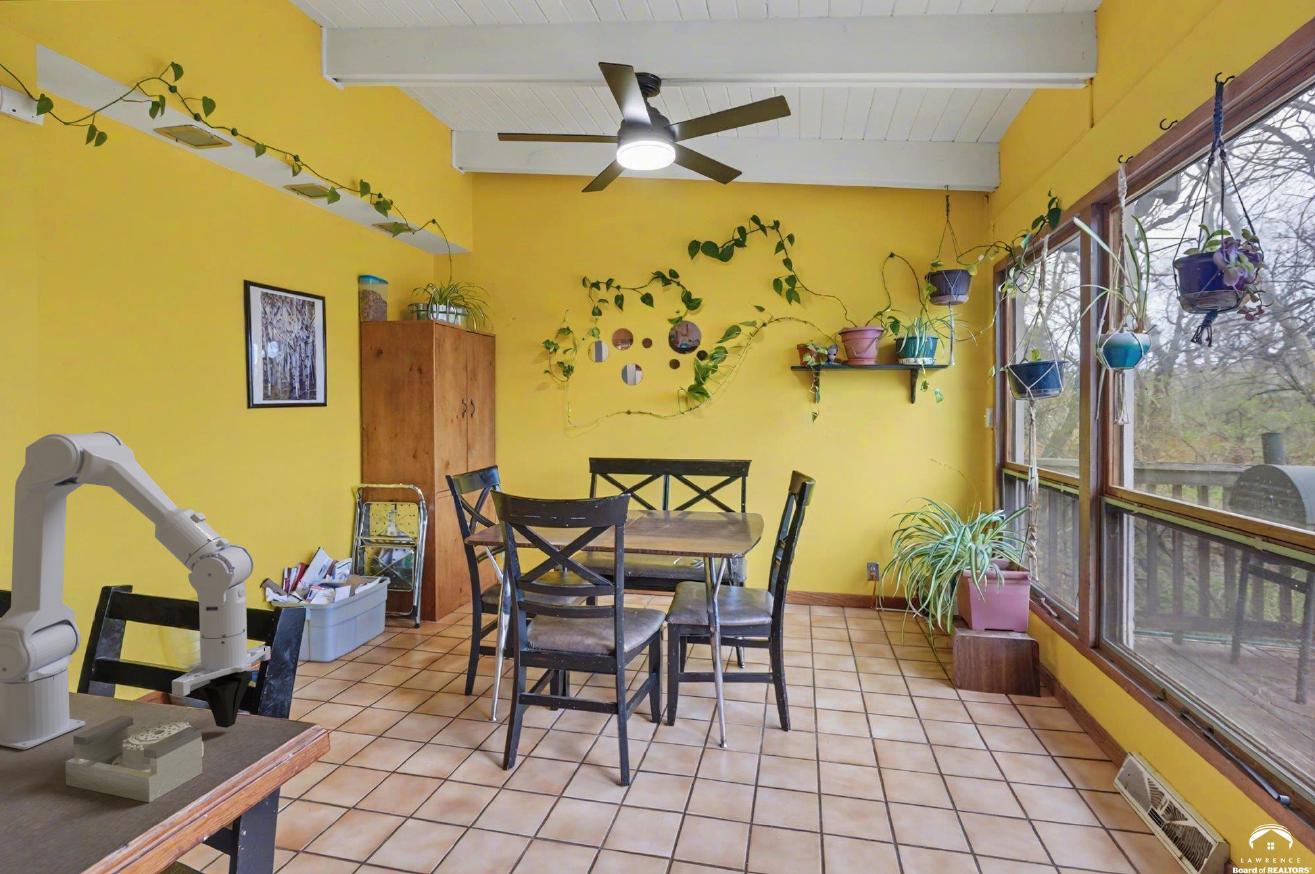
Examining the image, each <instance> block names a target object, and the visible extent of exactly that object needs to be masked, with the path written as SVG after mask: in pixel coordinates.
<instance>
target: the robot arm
mask: <svg viewBox="0 0 1315 874" xmlns="http://www.w3.org/2000/svg"><path fill="white" fill-rule="evenodd" d="M24 454H25V455H24V456H25V459H24V462H25V463H24V466H22V469H21V471H20V473H19V475H18V476H17V478H16V480H15V485H14V507H13V508H14V509H13V511H14V512H13V532H12V533H13V534H12V535H13V537H12V540H13V541H12V543H13V544H12V563H11V564H12V566H11V568H12V569H11V570H12V571H11V593H10V595H11V597H10V608H9V609H8V610H7V611H6V612H5V613H4V614H3V615H2V617H0V746H3V747H9V748H15V749H20V750H28V749H30V748H33V747H35V746H37V745H40V744H43V743H45V742H47V741H50V740H52V739H55V738H57V737H60V736H61V735H64V734H66V733H67V734H68V733H69V732H71V731H74V730H77V729H79V728H81V727H84V726H85V725H86V721H85V720H79V719H73V718H70V695H69V694H70V691H69V690H70V689H69V688H70V687H69V686H70V685H69V665H70V664H71V663H72V655H73V654H75V653H76V652H77V651H78V649H79V648H80V644H81V640H82V637H81V632H80V629H79V627H78V625H77V622H76V610H74V609H73V608H71V607H70V606H69V605H67V604H66V603H65V602H64V601H63V600H64V598H63V597H64V575H65V571H64V570H65V552H66V551H65V549H66V547H65V545H66V523H67V522H66V521H67V519H66V517H67V497H68V496H69V495H70V494H71V493H73V492H74V491H75V490H77V489H79V488H80V487H81V486H83V485H84V484H87V485H94V486H102V487H109V488H111V489H112V490H114V491H115V492H116V493H117V494H118V495H120V496H121V498H123V499H124V500H126V501H127V503H129V504H130V505H132V506H133V507H134V508H135V509H136V510H137V511H139V512H140V513H141V514H142V515H143V516H145V517H146V518H147V519H148V520H150V522H152V523H153V524H154V526H155V527H154V528H155V529H154V538H155V539H156V540H158V542H159V543H160V544H161V545H163V547H165V548H166V549H167V550H168V552H170V553H171V554H172V555H173V556H174V557H175V558H176V559H177V560H178V561H179V562H180V563H181V564H182V565H183V566H184V567H186V569H187V570H189V571H190V572H189V573H188V574H187V576H188V581H189V583H190V586H191V587H192V589H194V590H195V592H196V594H197V602H198V603H199V604H198V605H199V647H200V649H199V650H200V664H198V665H197V666H195V667H194V668H192V669H190V670H189V671H188V672H186V673H184V674H182V675H181V676H180V677H177V678H176V679H173V680H171V695H174V696H180V697H185V696H188V695H189V694H190V693H191V692H192V691H194V690H196V689H197V690H198V691H199V692H200V693H201V695H202V696H203V698H204V699H205V700H206V702H207V704H208V706H209V708H210V711H211V714H212V717H213V719H214V723H215V725H216V727H220V728H225V729H227V728H230V727H232V726H234V725H235V724H236V721H237V717H238V714H239V709H240V706H241V702H242V699H243V697H244V695H245V693H246V690H247V688H248V686H249V685H250V683H251V681H252V680H253V672H252V671H249V669H251V668H252V665H255V664H258V662H259V663H260V662H265V661H268V660H270V659H271V646H268V645H262V644H261V645H257V646H254V647H252V648H248V633H247V632H248V631H247V630H248V628H247V627H248V625H247V623H248V619H247V583H246V580H247V579H248V578H249V577H250V576H251V575H252V573H253V570H254V560H253V557H252V555H251V554H250V553H249V551H248V549H247V548H246V547H245V546H243V545H239V544H232V543H230V541H229V540H228V539H227V538H225V537H222V536H221V535H220V534H219V533H218V532H217V531H216V530H214V529H213V528H212V526H210V525H209V524H208V522H206V521H205V520H207V517H206V515H204V513H203V512H200V511H199V512H196V511H195V510H194V509H191V508H185V509H184V508H179V507H178V506H177V505H176V503H174V502H173V501H172V500H171V499H170V497H169V496H168V495H167V494H166V493H165V492H164V491H163V490H162V488H161V487H159V485H158V484H157V483H156V482H155V481H154V480H153V478H152V477H151V476H150V475H149V474H148V473H147V472H146V471H145V470H144V468H142V466H141V465H140V464H139V463H138V462H137V460H136V457H135V454H134V451H133V449H132V448H130V447H129V446H128V445H126V444H125V443H124V442H123V441H122V439H121V438H120V437H118V436H117V435H116V434H115V433H113V432H109V431H104V430H103V431H102V430H100V431H95V432H87V433H86V432H84V433H83V432H82V433H65V434H62V433H50V434H47V435H44V436H42V437H41V438H39V439H37V440H36V441H34V442H33V443H31V444H29V445H28V446H26V447H25V453H24ZM264 648H265V651H264Z"/></svg>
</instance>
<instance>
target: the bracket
mask: <svg viewBox="0 0 1315 874" xmlns="http://www.w3.org/2000/svg"><path fill="white" fill-rule="evenodd" d="M131 726H134V717H133V716H130V715H129V716H128V715H119V716H116V717H114V718H112V719H110V720H107V721H104V722H103V723H100V724H98V725H96V726H93V727H91V728H88V729H86V730H84V731H82V732H79V733H76V734H74V735H72V736H73V739H72V740H73V757H72V758H70V759H68V760H66V761H65V762H64V763H65V764H64V765H65V786H69V787H74V788H78V789H83V790H88V791H92V792H97V793H103V794H105V795H106V794H107V795H113V796H115V797H116V796H117V797H121V798H126V799H130V800H135V801H140V802H145V803H151V802H153V801H155V800H157V799H159V798H160V797H162V796H164V795H166V794H167V793H169V792H171V791H172V790H174V789H176V788H178V787H180V786H182V785H184V784H185V783H187V782H189V781H190V780H192V779H194V778H196V777H197V776H199V775H201V774H203V757H202V742H203V740H202V728H199V727H193V726H192V727H187V728H185V729H183V730H181V731H179V732H177V733H175V734H173V735H171V736H169V737H167V738H165V739H163V740H160V741H158V742H156V743H154V744H152V745H150V746H148V747H146V748H144V757H148V758H150V769H151V772H145V771H140V770H135V769H130V768H125V767H120V766H115V765H112V762H113V761H114V760H115V759H116V758H117V757H118V756H119V755H121V754H123V740H125V739H126V738H127V737H129V727H131Z"/></svg>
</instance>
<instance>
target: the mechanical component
mask: <svg viewBox="0 0 1315 874" xmlns="http://www.w3.org/2000/svg"><path fill="white" fill-rule="evenodd" d="M187 727H193V726H192V725H190V724H189V722H188V721H184V720H182V721H181V720H180V721H178V720H174V721H171V722H170V721H169V722H168V721H167V722H158V723H156V724H153V725H149V726H143V727H141V729H136V730H134V732H131V733H128V737H127V738H126V739H125V740H123V754H121V755H119V756H118V757H117V758H116V759H115V760H114V761H113V762H112V765H115V766H120V767H125V768H130V769H135V770H140V771H145V772H151V769H150V758H148V757H144V748H146V747H148V746H150V745H152V744H154V743H156V742H158V741H160V740H163V739H165V738H167V737H169V736H171V735H173V734H175V733H177V732H179V731H181V730H183V729H185V728H187ZM204 746H205V743H204V742H203V741H202V758H203V757H204V752H205V751H204V749H205V747H204Z"/></svg>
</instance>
